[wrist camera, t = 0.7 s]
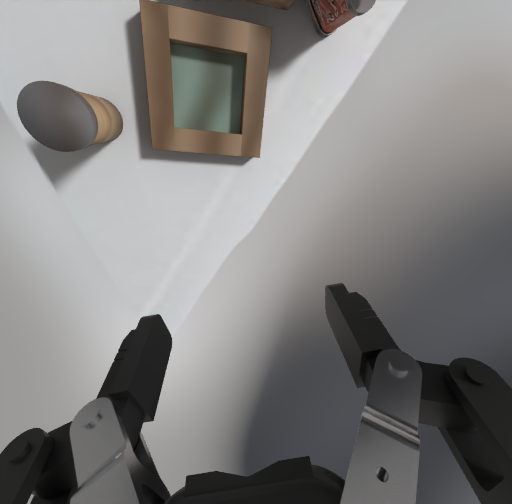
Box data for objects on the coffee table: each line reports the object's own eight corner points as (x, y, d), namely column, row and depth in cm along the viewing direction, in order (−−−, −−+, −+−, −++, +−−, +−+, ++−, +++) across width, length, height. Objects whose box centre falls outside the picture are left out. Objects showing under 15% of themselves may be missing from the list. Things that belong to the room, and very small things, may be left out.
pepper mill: (82, 140, 28) (28, 149, 19) (73, 92, 26) (6, 75, 17) (127, 143, 29) (97, 153, 20) (121, 98, 27) (84, 86, 18)
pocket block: (155, 147, 30) (152, 149, 28) (143, 8, 24) (139, -2, 22) (255, 155, 34) (259, 157, 32) (266, 34, 28) (272, 27, 26)
